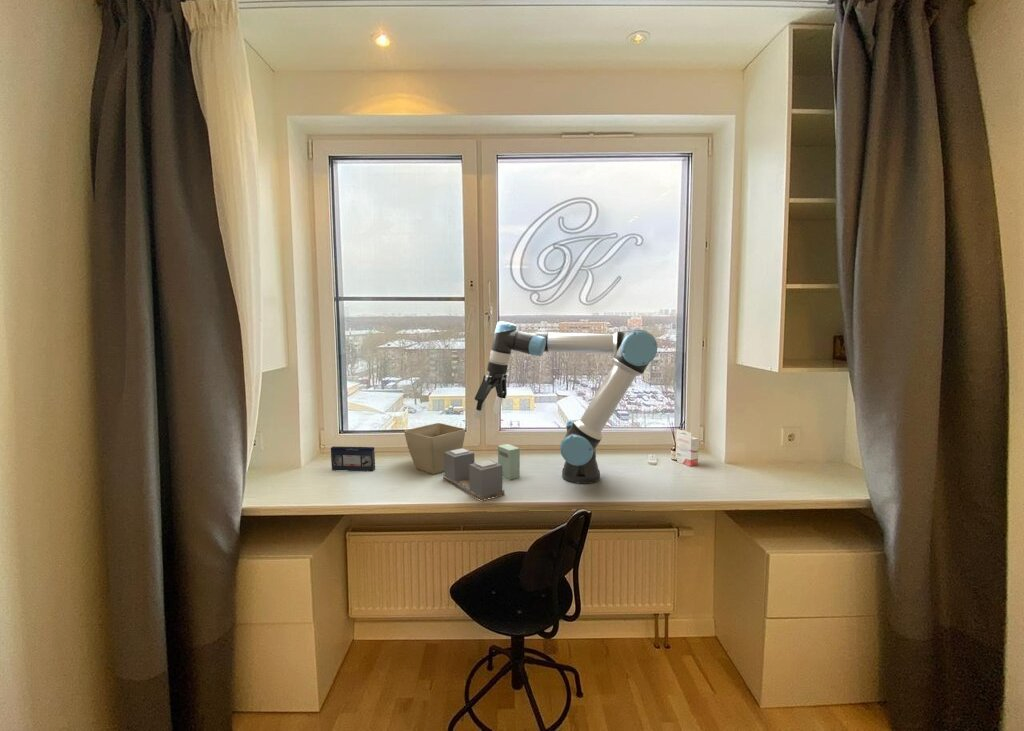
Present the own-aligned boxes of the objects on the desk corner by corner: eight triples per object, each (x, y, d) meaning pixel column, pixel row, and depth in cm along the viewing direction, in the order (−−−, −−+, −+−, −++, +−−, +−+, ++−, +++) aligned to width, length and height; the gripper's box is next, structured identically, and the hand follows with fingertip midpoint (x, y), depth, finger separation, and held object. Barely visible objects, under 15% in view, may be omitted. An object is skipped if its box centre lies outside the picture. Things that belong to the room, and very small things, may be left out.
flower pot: (404, 468, 193) (403, 429, 191) (439, 458, 207) (438, 422, 205) (431, 479, 180) (430, 437, 178) (467, 467, 194) (466, 428, 192)
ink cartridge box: (698, 465, 195) (699, 431, 193) (690, 466, 192) (691, 433, 191) (682, 459, 202) (683, 427, 201) (674, 461, 200) (675, 428, 198)
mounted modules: (464, 471, 185) (463, 446, 184) (502, 491, 163) (502, 463, 162) (444, 476, 179) (444, 450, 178) (481, 497, 158) (481, 468, 157)
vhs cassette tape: (331, 470, 191) (330, 447, 190) (334, 468, 194) (333, 445, 193) (372, 472, 189) (371, 448, 188) (375, 469, 191) (374, 446, 190)
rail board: (464, 473, 186) (464, 469, 185) (504, 494, 163) (504, 490, 163) (443, 478, 180) (443, 475, 179) (481, 501, 157) (481, 497, 157)
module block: (508, 471, 188) (507, 443, 186) (519, 477, 181) (519, 448, 180) (497, 474, 185) (497, 445, 183) (509, 479, 178) (509, 450, 177)
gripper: (505, 359, 183) (495, 408, 187) (472, 361, 161) (461, 417, 164) (521, 363, 180) (510, 414, 183) (490, 366, 158) (478, 423, 161)
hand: (487, 415), depth 174 cm, fingers open, 13 cm apart
